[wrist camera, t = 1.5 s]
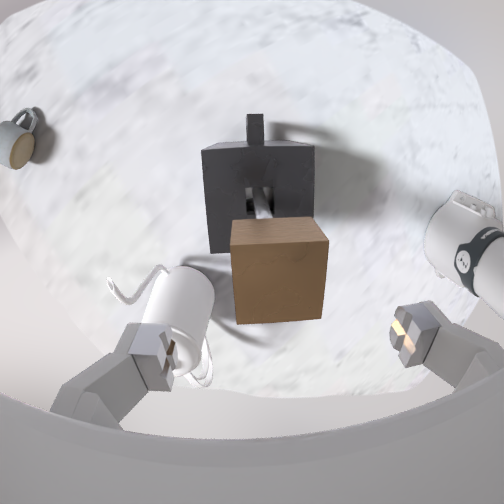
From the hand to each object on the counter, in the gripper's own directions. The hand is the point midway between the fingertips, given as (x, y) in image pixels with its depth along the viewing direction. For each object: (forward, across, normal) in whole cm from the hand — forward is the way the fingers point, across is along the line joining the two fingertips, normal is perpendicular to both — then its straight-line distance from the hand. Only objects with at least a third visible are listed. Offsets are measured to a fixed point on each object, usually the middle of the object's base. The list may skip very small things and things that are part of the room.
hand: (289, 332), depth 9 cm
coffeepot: (+34, +13, +19) cm, 41 cm away
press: (+34, 0, -2) cm, 34 cm away
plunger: (+22, 0, 0) cm, 22 cm away
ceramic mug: (+34, +42, -14) cm, 55 cm away
